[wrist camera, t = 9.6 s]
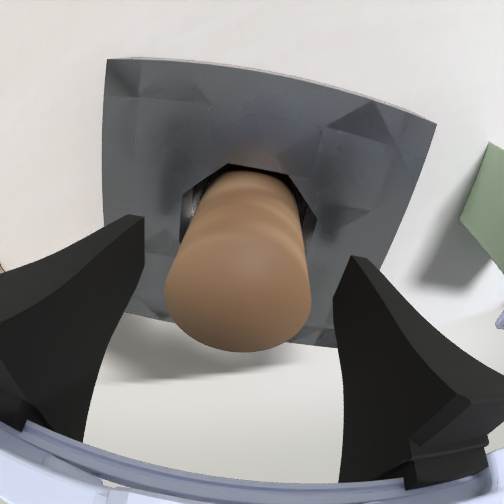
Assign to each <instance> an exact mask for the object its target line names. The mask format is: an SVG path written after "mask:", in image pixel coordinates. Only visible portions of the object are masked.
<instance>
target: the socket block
mask: <svg viewBox="0 0 504 504" xmlns="http://www.w3.org/2000/svg"><path fill="white" fill-rule="evenodd" d="M436 126H437V124H436V123H434V122H432V121H430V120H428V119H426V118H424V117H422V116H420V115H418V114H415V113H413V112H411V111H408V110H406V109H403V108H400V107H398V106H395V105H392V104H389V103H386V102H383V101H380V100H377V99H374V98H371V97H368V96H365V95H362V94H359V93H356V92H352V91H349V90H345V89H342V88H338V87H335V86H331V85H327V84H323V83H320V82H316V81H312V80H307V79H303V78H299V77H294V76H290V75H285V74H280V73H275V72H270V71H265V70H259V69H253V68H247V67H241V66H234V65H227V64H219V63H211V62H202V61H194V60H180V59H165V58H141V57H130V58H116V59H107V65H106V75H105V87H104V101H103V122H102V193H103V214H104V227H105V226H107V225H108V224H110V223H112V222H114V221H116V220H117V219H119V218H121V217H123V216H125V215H128V214H131V215H137V216H143V217H145V266H144V269H143V271H142V274H141V277H140V280H139V282H138V285H137V287H136V290H135V291H134V293H133V295H132V297H131V299H130V301H129V303H128V305H127V307H126V309H125V311H124V312H127V313H131V314H135V315H140V316H144V317H149V318H153V319H158V320H162V321H167V322H172V323H175V322H174V320H173V319H172V317H171V316H170V314H169V312H168V309H167V307H166V303H165V299H164V286H165V282H166V278H167V276H168V274H169V271H170V269H171V266H172V264H173V262H174V259H175V257H176V254H177V252H178V250H179V247H180V245H181V243H182V241H183V238H184V236H185V234H186V231H187V229H188V227H189V225H190V222H191V220H192V218H193V217H192V215H191V210H192V200H193V190H194V186H195V185H196V184H198V183H199V182H201V181H202V180H203V179H205V178H206V177H208V176H209V175H211V174H212V173H214V172H215V171H217V170H218V169H220V168H221V167H223V166H224V165H226V164H227V163H231V164H237V165H242V166H248V167H253V168H259V169H264V170H269V171H274V172H279V173H284V174H288V175H289V177H290V178H291V180H292V181H293V183H294V184H295V186H296V187H297V189H298V190H299V192H300V193H301V195H302V196H303V198H304V199H305V201H306V202H307V204H308V207H307V210H306V213H305V217H304V220H303V224H302V227H301V230H302V237H303V243H304V250H305V256H306V263H307V270H308V277H309V284H310V292H311V310H310V313H309V316H308V319H307V321H306V323H305V324H304V325H303V327H302V328H301V329H300V330H299V332H298V333H297V334H295V335H294V336H293V337H292V338H291V339H289V340H287V341H286V342H290V343H297V344H305V345H313V346H322V347H331V348H338V347H337V342H336V336H335V330H334V324H333V303H332V298H333V296H334V294H335V291H336V289H337V287H338V284H339V282H340V280H341V277H342V275H343V273H344V270H345V268H346V266H347V263H348V261H349V258H350V256H351V255H354V256H359V257H364V258H367V259H368V260H369V261H370V262H371V263H373V265H374V266H375V267H376V268H377V269H378V270H380V268H381V266H382V263H383V261H384V259H385V257H386V255H387V253H388V250H389V248H390V246H391V244H392V242H393V239H394V237H395V235H396V233H397V230H398V228H399V226H400V223H401V221H402V218H403V216H404V214H405V211H406V209H407V206H408V204H409V201H410V199H411V196H412V194H413V191H414V189H415V186H416V183H417V181H418V178H419V175H420V173H421V170H422V167H423V164H424V162H425V159H426V156H427V153H428V150H429V147H430V144H431V141H432V138H433V135H434V132H435V129H436Z"/></svg>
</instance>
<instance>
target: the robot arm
mask: <svg viewBox="0 0 504 504" xmlns="http://www.w3.org/2000/svg"><path fill="white" fill-rule="evenodd" d="M144 266H145V217H143V216H137V215H131V214H128V215H125V216H123V217H121V218H119V219H117V220H116V221H114V222H112V223H110V224H108V225H107V226H105V227H103V228H101V229H100V230H98V231H96V232H94V233H92V234H91V235H89V236H87V237H85V238H83V239H82V240H80V241H78V242H76V243H74V244H72V245H70V246H68V247H66V248H65V249H62V250H60V251H58V252H56V253H54V254H52V255H50V256H47V257H45V258H43V259H40V260H38V261H35V262H33V263H30V264H27V265H24V266H22V267H19V268H16V269H13V270H10V271H7V272H4V273H0V498H1V499H3V500H4V501H6V502H8V503H9V504H504V448H501V449H497V450H494V451H492V452H490V453H488V454H486V453H485V450H484V447H486V446H487V445H488V444H489V440H488V436H487V434H489V433H490V432H491V431H493V430H494V429H495V428H496V427H497V426H499V425H500V424H501V423H502V422H504V375H502V374H500V373H498V372H497V371H495V370H493V369H491V368H489V367H487V366H486V365H484V364H483V363H481V362H479V361H478V360H476V359H475V358H473V357H472V356H470V355H469V354H467V353H466V352H464V351H463V350H462V349H460V348H459V347H458V346H456V345H455V344H454V343H452V342H451V341H450V340H449V339H447V338H446V337H445V336H444V335H442V334H441V333H440V332H439V331H438V330H437V329H436V328H434V327H433V326H432V325H431V324H430V323H429V322H428V321H427V320H426V319H425V318H423V317H422V316H421V315H420V314H419V313H418V312H417V311H416V310H415V309H414V308H413V306H412V305H411V304H410V303H409V302H408V301H407V300H406V299H405V298H404V297H403V296H402V295H401V294H400V293H399V292H398V291H397V289H396V288H395V287H394V286H393V285H392V284H391V283H390V282H389V281H388V280H387V278H386V277H385V276H384V275H383V274H382V273H381V272H380V271H379V270H378V269H377V268H376V267H375V266H374V265H373V263H371V262H370V261H369V260H368V259H367V258H364V257H359V256H354V255H351V256H350V258H349V261H348V263H347V266H346V268H345V270H344V273H343V275H342V277H341V280H340V282H339V284H338V287H337V289H336V291H335V294H334V296H333V298H332V303H333V324H334V330H335V336H336V342H337V347H338V353H339V359H340V365H341V370H342V379H343V394H344V428H343V429H344V430H343V446H342V458H341V467H340V474H339V481H338V483H333V484H332V483H331V484H330V483H329V484H298V483H273V482H259V481H248V480H239V479H230V478H223V477H216V476H209V475H203V474H197V473H191V472H186V471H181V470H175V469H171V468H167V467H162V466H157V465H154V464H149V463H146V462H142V461H138V460H134V459H131V458H127V457H124V456H120V455H117V454H114V453H111V452H107V451H104V450H101V449H98V448H95V447H93V446H89V445H87V444H84V443H83V437H84V431H85V426H86V420H87V415H88V410H89V406H90V402H91V398H92V394H93V390H94V387H95V383H96V380H97V376H98V373H99V369H100V366H101V363H102V360H103V357H104V354H105V351H106V349H107V346H108V343H109V341H110V339H111V336H112V334H113V332H114V330H115V328H116V326H117V324H118V322H119V320H120V318H121V317H122V315H123V313H124V311H125V309H126V307H127V305H128V303H129V301H130V299H131V297H132V295H133V293H134V291H135V290H136V287H137V285H138V282H139V280H140V277H141V274H142V271H143V269H144ZM495 325H496V327H497V328H498V329H504V311H503V312H502V314H501V315H500V317H499V318H498V319H497V321H496V323H495ZM95 476H96V477H95ZM97 477H99V478H102V479H105V480H108V481H111V482H114V483H117V484H121V485H124V486H127V487H131V488H125V487H116V488H112V487H108V486H104V485H103V482H102V481H101V479H99V478H97Z"/></svg>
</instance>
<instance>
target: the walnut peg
mask: <svg viewBox="0 0 504 504" xmlns="http://www.w3.org/2000/svg"><path fill="white" fill-rule="evenodd" d="M164 299H165V303H166V307H167V309H168V312H169V314H170V316H171V317H172V319H173V320H174V322H175V323H176V324H177V325H178V326H179V327H180V328H181V329H182V330H183V331H184V332H185V333H186V334H188V335H189V336H190V337H192V338H194V339H195V340H197V341H199V342H201V343H203V344H205V345H207V346H210V347H213V348H216V349H220V350H224V351H230V352H256V351H262V350H266V349H270V348H273V347H275V346H278V345H280V344H282V343H284V342H286V341H287V340H289V339H291V338H292V337H293V336H294V335H295V334H297V333H298V332H299V330H300V329H301V328H302V327H303V325H304V324H305V323H306V321H307V319H308V316H309V313H310V310H311V292H310V284H309V277H308V270H307V263H306V256H305V250H304V243H303V237H302V230H301V224H300V218H299V212H298V206H297V200H296V194H295V189H294V185H293V182H292V180H291V178H290V177H289V175H288V174H284V173H279V172H274V171H269V170H264V169H259V168H253V167H248V166H242V165H237V164H231V163H227V164H226V165H224V166H223V167H221V168H220V169H218V170H217V171H215V172H214V174H213V175H212V177H211V179H210V181H209V183H208V185H207V187H206V189H205V192H204V194H203V196H202V198H201V200H200V202H199V205H198V207H197V209H196V211H195V213H194V216H193V218H192V220H191V222H190V225H189V227H188V229H187V231H186V234H185V236H184V238H183V241H182V243H181V245H180V247H179V250H178V252H177V254H176V257H175V259H174V262H173V264H172V266H171V269H170V271H169V274H168V276H167V278H166V282H165V286H164Z"/></svg>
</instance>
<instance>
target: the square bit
mask: <svg viewBox="0 0 504 504" xmlns="http://www.w3.org/2000/svg"><path fill="white" fill-rule="evenodd" d="M459 220H460V221H461V223H462V224H463V225H464V226H465V227H466V228H467V229H468V231H469V232H470V233H471V234H472V235H473V236H474V238H475V239H476V240H477V241H478V242H479V244H480V245H481V246H482V247H483V248H484V250H485V251H486V252H487V253H488V255H489V256H490V257H491V258H492V260H493V261H494V262H495V264H496V265H497V266H498V268H499V269H500V270H501V271H502V273H503V274H504V150H503V149H502V148H500V147H498V146H496V145H494V144H492V143H491V142H489V144H488V147H487V150H486V153H485V156H484V159H483V161H482V164H481V167H480V170H479V172H478V175H477V177H476V180H475V182H474V185H473V187H472V190H471V192H470V195H469V197H468V199H467V202H466V204H465V206H464V209H463V211H462V213H461V215H460V218H459Z"/></svg>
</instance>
